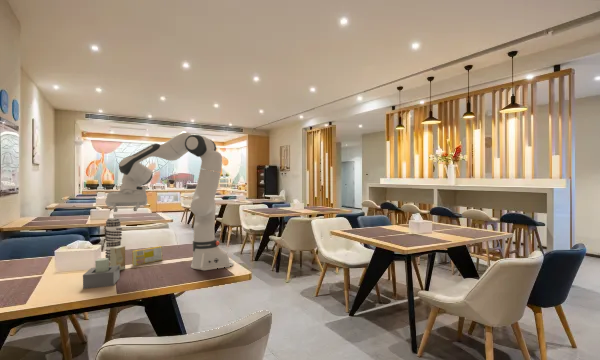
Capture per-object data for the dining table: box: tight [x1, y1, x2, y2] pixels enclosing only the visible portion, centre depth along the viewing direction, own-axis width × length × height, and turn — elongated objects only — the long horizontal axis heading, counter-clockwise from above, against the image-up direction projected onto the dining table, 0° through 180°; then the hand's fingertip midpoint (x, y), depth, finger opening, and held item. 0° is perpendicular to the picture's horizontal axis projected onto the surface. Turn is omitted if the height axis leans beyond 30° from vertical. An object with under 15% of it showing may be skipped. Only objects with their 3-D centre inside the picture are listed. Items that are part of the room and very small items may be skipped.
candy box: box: [131, 245, 163, 266], centre depth 187 cm, size 16×2×8 cm, turn 136°
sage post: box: [94, 257, 110, 272], centre depth 151 cm, size 4×4×10 cm
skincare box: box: [109, 245, 126, 271], centre depth 172 cm, size 6×4×12 cm
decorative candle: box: [104, 217, 123, 263], centre depth 192 cm, size 9×9×25 cm
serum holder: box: [82, 265, 121, 289], centre depth 151 cm, size 12×12×6 cm
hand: (125, 210), depth 173 cm, fingers open, 8 cm apart
